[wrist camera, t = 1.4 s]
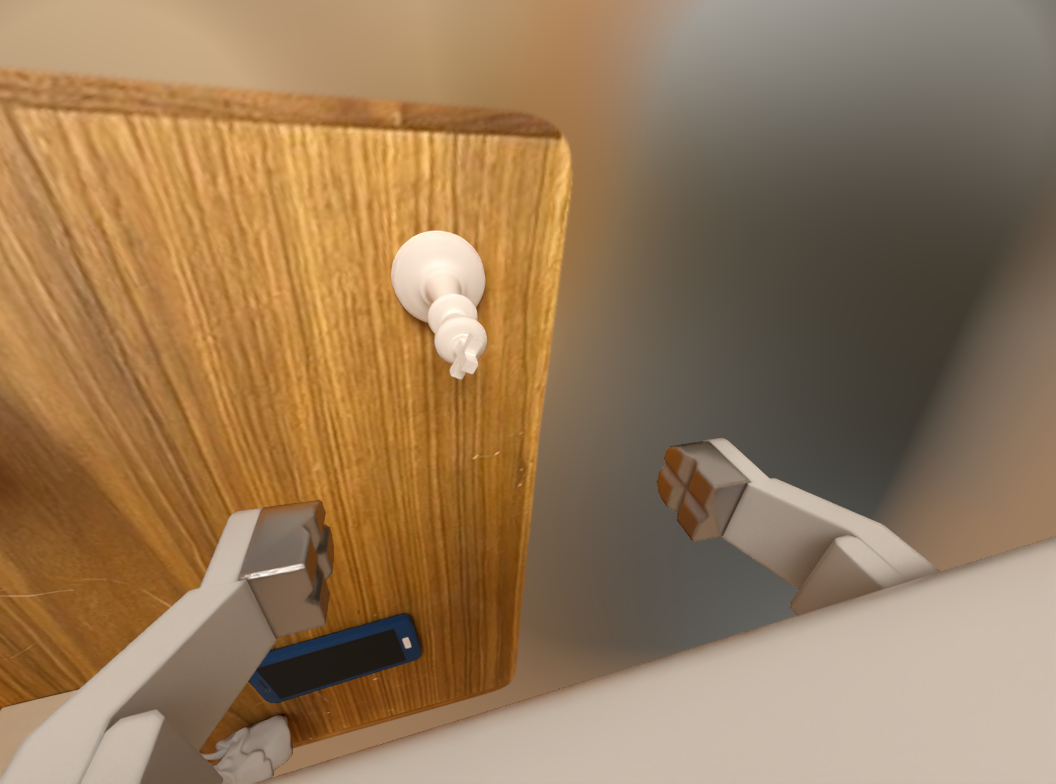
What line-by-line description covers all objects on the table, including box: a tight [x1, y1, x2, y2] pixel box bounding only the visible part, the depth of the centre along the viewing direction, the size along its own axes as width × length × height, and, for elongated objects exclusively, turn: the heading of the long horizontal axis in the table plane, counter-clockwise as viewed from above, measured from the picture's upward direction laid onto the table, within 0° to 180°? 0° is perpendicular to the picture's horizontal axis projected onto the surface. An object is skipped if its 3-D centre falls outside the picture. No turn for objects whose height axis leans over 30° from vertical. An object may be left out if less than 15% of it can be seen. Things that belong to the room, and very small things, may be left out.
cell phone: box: [248, 614, 422, 703], centre depth 37 cm, size 7×14×1 cm, turn 91°
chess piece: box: [391, 231, 487, 380], centre depth 18 cm, size 5×5×10 cm
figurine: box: [200, 715, 293, 784], centre depth 38 cm, size 4×8×5 cm, turn 79°
